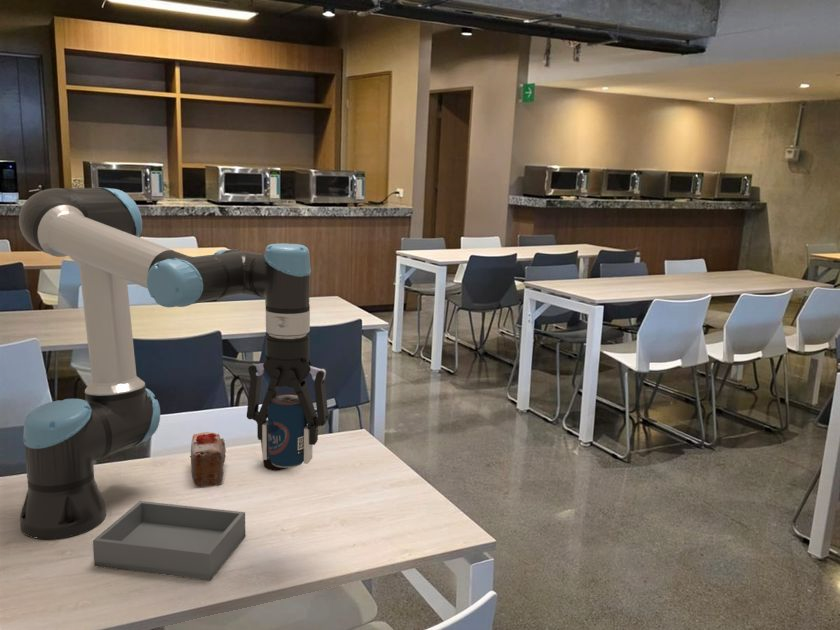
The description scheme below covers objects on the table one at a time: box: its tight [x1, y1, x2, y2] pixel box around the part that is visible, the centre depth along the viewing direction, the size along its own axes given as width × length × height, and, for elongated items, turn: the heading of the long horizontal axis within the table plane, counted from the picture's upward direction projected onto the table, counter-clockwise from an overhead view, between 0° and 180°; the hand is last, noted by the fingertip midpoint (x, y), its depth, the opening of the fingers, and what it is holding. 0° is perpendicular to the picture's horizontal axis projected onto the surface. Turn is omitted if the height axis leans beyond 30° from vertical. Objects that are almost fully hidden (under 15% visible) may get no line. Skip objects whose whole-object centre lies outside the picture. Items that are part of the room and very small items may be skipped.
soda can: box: [267, 392, 308, 469], centre depth 128 cm, size 7×7×12 cm
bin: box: [92, 500, 246, 582], centre depth 132 cm, size 22×16×5 cm
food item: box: [189, 431, 227, 488], centre depth 165 cm, size 14×8×10 cm, turn 19°
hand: (287, 458), depth 129 cm, fingers closed on soda can, 7 cm apart
